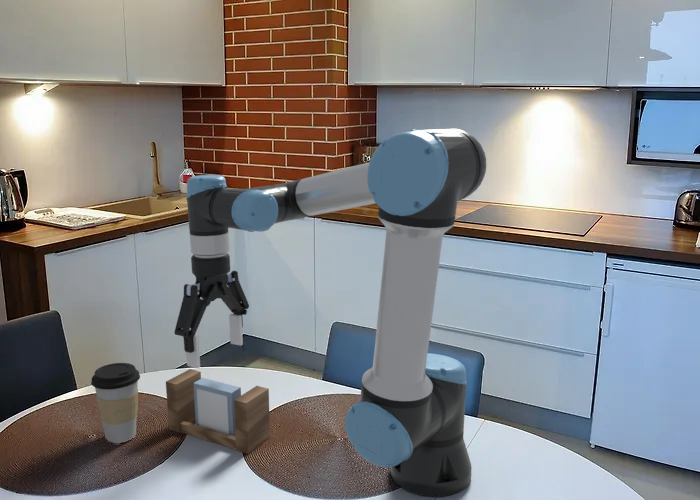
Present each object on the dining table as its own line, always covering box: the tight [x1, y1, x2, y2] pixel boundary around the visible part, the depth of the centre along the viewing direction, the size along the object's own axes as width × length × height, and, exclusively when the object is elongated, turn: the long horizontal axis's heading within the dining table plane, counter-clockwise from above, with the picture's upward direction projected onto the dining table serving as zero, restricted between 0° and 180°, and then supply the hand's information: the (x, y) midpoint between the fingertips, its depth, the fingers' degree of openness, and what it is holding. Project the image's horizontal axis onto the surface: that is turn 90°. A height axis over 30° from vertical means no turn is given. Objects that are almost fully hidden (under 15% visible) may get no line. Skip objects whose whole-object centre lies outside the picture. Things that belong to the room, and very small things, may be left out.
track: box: [165, 368, 271, 455], centre depth 136 cm, size 21×8×11 cm, turn 62°
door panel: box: [194, 377, 242, 437], centre depth 136 cm, size 10×3×11 cm, turn 62°
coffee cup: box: [90, 362, 141, 443], centre depth 134 cm, size 9×9×15 cm
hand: (216, 354), depth 133 cm, fingers open, 13 cm apart
